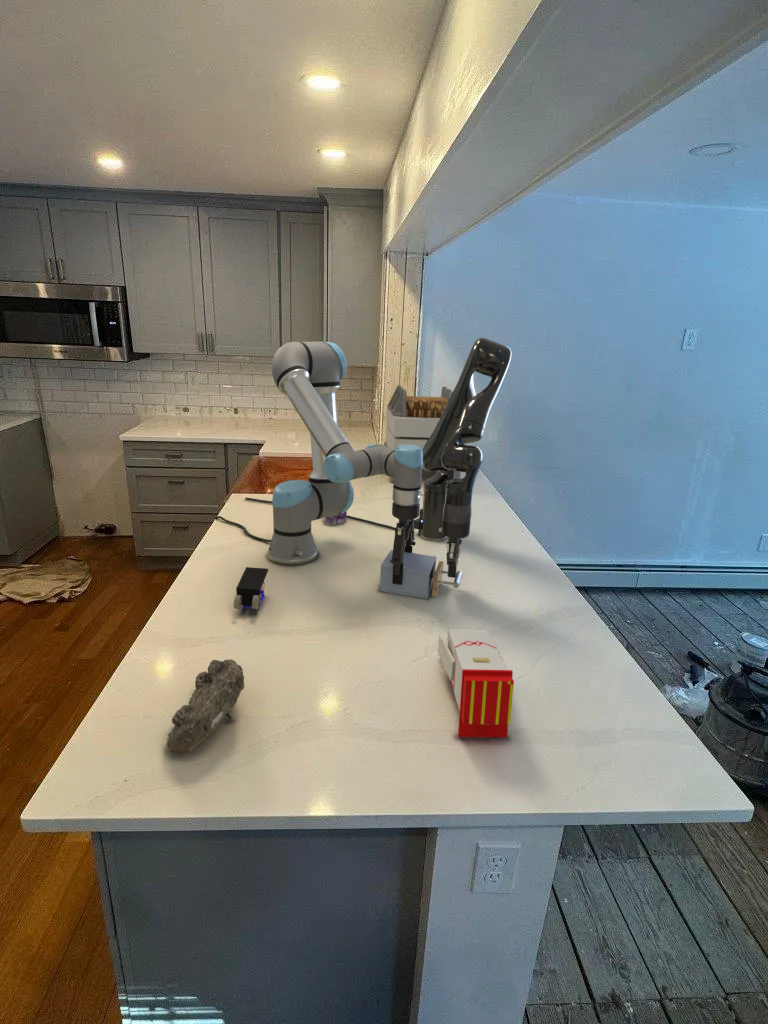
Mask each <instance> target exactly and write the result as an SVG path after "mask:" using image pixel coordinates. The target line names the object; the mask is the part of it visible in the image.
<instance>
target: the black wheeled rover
mask: <svg viewBox="0 0 768 1024" xmlns="http://www.w3.org/2000/svg"><path fill="white" fill-rule="evenodd" d="M268 572H269V568H265V567H249V566H246V567H245V568H244V570H243V573H242V575H241V577H240V579H239V581H238V583H237V585H236V589H235V591H236V592H235V593H236V595H234V599H233V609H235V610H240V609H241V610H240V613H241V614H244V613H245V610H246V608H248V609H252V611H251V614H252V615H254V614H255V613H256V611H257V610H259V607H261V602H262V601H263V600H265V598H266V596H265V594H264V593H265V589H266V582H265V580H266V577H267V575H268Z"/></svg>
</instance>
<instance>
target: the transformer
mask: <svg viewBox="0 0 768 1024" xmlns="http://www.w3.org/2000/svg"><path fill="white" fill-rule="evenodd" d="M452 392H453V390H452V389H451V388H447V386H442V387H441V392H440V393H441V394H440V396H415V395H414V396H413V395H412V396H411V395H407V394H408V393H407V390H406V389H404V388H403V387H402V385H399V384H398V385H397V386H396V388H395V390H394V392H393V394H392V395H391V398H390V400H389V402H388V404H387V405H386V413H385V414H386V415H385V423H386V428H385V438H384V442H383V445H384V446H386V447H389V448H392V449H395V448H396V447H397V446H399V445H415V446H418V447H420V448H421V449H423V447H424V445H425V444H426V442H427V440H428V439H429V437H430V436H431V434H432V433H433V431H434V429H435V427H436V425H437V424H438V422H439V420H440V418H441V415H442V413H443V411H444V408H445V406H446V404H447V402H448V400H449V398H450V396H451V394H452ZM461 473H462V472H458V471H454V478H453V479H458V478H461ZM388 478H389V480H390V482H391V483H394V477H390V476H388Z"/></svg>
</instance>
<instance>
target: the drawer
mask: <svg viewBox="0 0 768 1024" xmlns="http://www.w3.org/2000/svg"><path fill="white" fill-rule="evenodd" d="M444 563H445V562H444V560H439V561H438V563H437V565H436V567H435V573H434V565H433V567H432V570H431V572H430V577H429V588H430V586H431V584H432V581H433V586H432V588H431V596H433V597H437V596H438V592H439V590H440V588H441V585H442V584H443V585H448V586H452V587H453V588H455V589H457V588H459V586H460V583H461V581H462V577H463V571H461V570H457V571H456V576H455V578H453V579H454V580H453V582H452V581H447V580H443V574H444V575H445V574H446V575H448V570H444ZM433 575H434V577H433ZM428 591H429V590H428Z"/></svg>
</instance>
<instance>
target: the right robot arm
mask: <svg viewBox="0 0 768 1024" xmlns="http://www.w3.org/2000/svg"><path fill="white" fill-rule="evenodd" d="M511 359H512V350H511V348H510V347H509V346H506V345H504V344H502V343H500V342H496V341H494V340H492V339H489V338H486V337H479V338H477V339H476V340H475V341H474V343H473V345H472V346H471V348H470V351H469V352H468V356H467V358H466V361H465V363H464V366H463V368H462V371H461V373H460V376H459V377H458V380H457V382H456V385H455V387H454V388H453V390H452V394H451V396H450V398H449V400H448V402H447V404H446V406H445V408H444V411H443V413H442V415H441V418H440V420H439V422H438V424H437V425H436V427H435V429H434V431H433V433H432V434H431V436H430V437H429V439H428V440H427V442H426V444H425V445H424V447H423V449H422V451H423V468H422V470H424V471H427V472H435V474H433V475H432V476H430V477H428V478H427V479H425V480H424V482H423V492H422V493H423V495H422V496H423V497H422V506H421V508H420V511H419V516H418V517H417V518H416V519H414V530H417V535H418V536H420V538H421V539H424V540H426V541H432V542H440V541H444V540H446V539H447V541H446V544H445V545H446V547H445V548H446V554H445V555H446V565H447V571H448V574H447V577H448V578H453V579H455V576H456V573H457V571H458V570H457V569H458V563H459V559H460V556H461V554H462V553H461V552H462V546H463V539H466V538H468V537H469V536H470V532H471V523H472V500H473V491H474V486H475V482H476V479H477V476H478V474H479V471H480V468H481V466H482V464H483V459H484V456H483V452H482V449H480V447H478V446H476V445H469V444H473V443H478V442H479V441H481V439H482V438H483V435H484V431H485V428H486V424H487V420H488V418H489V414H490V411H491V409H492V406H493V404H494V402H495V399H496V398H497V395H498V393H499V391H500V388H501V386H502V383H503V381H504V379H505V376H506V374H507V371H508V369H509V367H510V362H511ZM474 373H477V374H479V375H483V376H486V377H488V378H491V379H490V381H489V383H488V384H487V385H486V386H485V387H484V388H483V389H481V390H480V391H478V392H477V394H476V391H475V385H474ZM454 471H458V472H461V473H465V476H464V477H460V478H458V479H453V478H454ZM245 500H246V501H252V502H253V501H254V502H257V503H258V502H259V503H264V504H265V503H266V504H271V505H273V504H272V500H265V499H259V498H252V497H245ZM346 519H350V520H355V521H359V522H364V523H367V524H370V525H374V526H379V527H382V528H387V529H390V530H394V531H395V528H396V526H392V525H389V524H383V523H379V522H375V521H372V520H368V519H365V518H361V517H360V518H359V517H357V516H351V515H348V514H347V515H346Z"/></svg>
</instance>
